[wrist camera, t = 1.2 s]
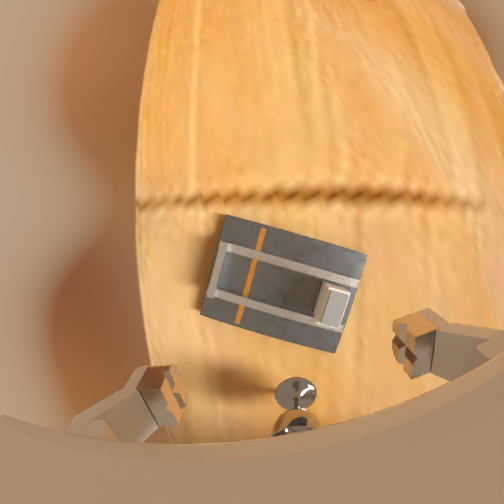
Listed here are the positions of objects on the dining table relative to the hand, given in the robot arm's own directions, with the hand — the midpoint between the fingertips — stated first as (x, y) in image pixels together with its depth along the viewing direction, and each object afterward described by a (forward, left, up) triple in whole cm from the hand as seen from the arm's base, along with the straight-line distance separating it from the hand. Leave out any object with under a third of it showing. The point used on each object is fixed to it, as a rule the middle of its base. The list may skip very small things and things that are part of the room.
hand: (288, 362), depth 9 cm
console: (0, +2, -34) cm, 34 cm away
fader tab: (-7, +2, -32) cm, 33 cm away
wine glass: (-8, +20, -35) cm, 41 cm away
